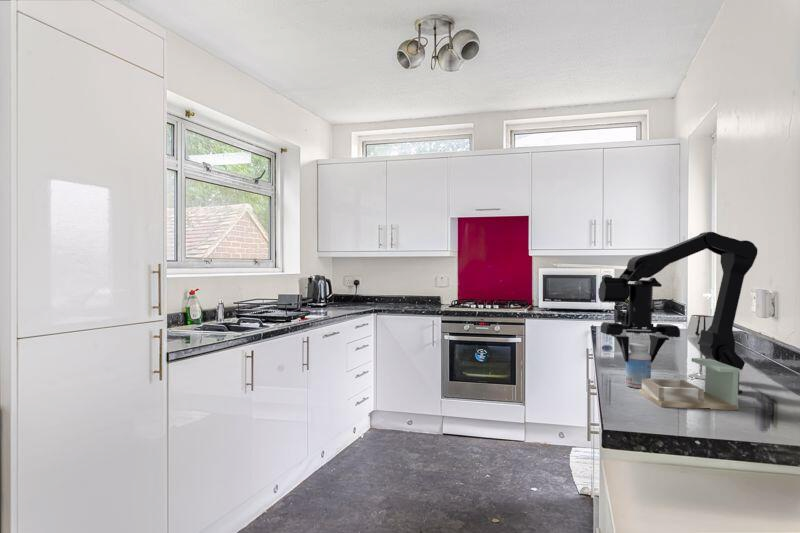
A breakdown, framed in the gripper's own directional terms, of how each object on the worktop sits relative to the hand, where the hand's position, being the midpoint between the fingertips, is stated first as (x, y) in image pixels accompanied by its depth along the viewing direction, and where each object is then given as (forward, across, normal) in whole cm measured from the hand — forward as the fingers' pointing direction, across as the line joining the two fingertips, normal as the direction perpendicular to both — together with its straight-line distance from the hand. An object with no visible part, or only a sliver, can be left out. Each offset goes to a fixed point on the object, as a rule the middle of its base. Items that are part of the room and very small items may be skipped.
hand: (638, 361), depth 141 cm
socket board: (+7, -6, +14) cm, 17 cm away
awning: (+7, -12, +14) cm, 20 cm away
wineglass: (+7, -24, -16) cm, 30 cm away
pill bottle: (+7, 0, 0) cm, 7 cm away
